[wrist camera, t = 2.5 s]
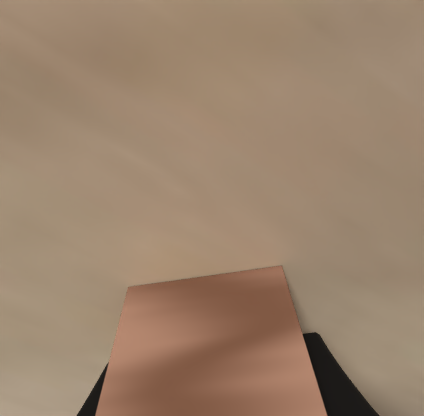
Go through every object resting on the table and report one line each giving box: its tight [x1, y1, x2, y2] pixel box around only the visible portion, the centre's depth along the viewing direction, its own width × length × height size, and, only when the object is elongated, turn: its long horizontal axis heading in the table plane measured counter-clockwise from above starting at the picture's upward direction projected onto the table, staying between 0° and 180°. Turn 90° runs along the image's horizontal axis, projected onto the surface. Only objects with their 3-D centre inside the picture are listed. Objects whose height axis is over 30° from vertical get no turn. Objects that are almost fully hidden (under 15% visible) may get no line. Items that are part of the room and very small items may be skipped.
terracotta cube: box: [95, 266, 327, 416], centre depth 10 cm, size 4×4×5 cm
